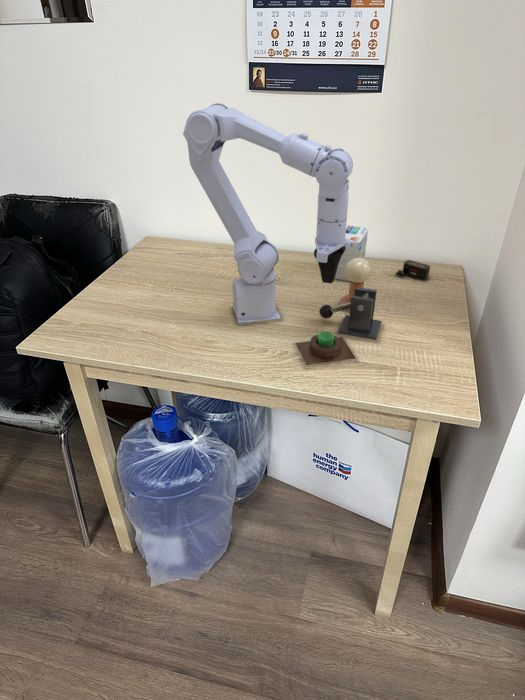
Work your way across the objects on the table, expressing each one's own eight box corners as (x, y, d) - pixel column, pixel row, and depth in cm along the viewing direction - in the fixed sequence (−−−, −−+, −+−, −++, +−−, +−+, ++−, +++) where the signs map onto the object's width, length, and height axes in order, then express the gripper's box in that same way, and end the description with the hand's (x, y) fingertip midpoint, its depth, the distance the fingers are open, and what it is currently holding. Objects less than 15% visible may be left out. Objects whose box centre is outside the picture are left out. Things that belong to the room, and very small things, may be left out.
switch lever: (321, 322, 112) (315, 310, 111) (324, 316, 114) (319, 304, 113) (370, 309, 106) (365, 296, 105) (373, 302, 108) (368, 290, 107)
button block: (306, 367, 100) (307, 356, 99) (295, 345, 106) (296, 334, 105) (355, 360, 102) (356, 349, 100) (341, 339, 108) (342, 328, 107)
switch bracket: (338, 335, 110) (341, 298, 105) (345, 319, 115) (348, 283, 110) (376, 341, 107) (381, 304, 102) (381, 325, 113) (386, 289, 108)
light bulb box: (340, 262, 140) (343, 224, 134) (364, 266, 138) (369, 227, 132) (329, 278, 132) (332, 238, 126) (355, 282, 130) (359, 242, 124)
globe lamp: (345, 315, 117) (350, 266, 110) (336, 302, 122) (340, 254, 115) (372, 312, 118) (378, 263, 111) (362, 299, 123) (367, 251, 116)
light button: (320, 348, 101) (320, 341, 100) (315, 340, 104) (315, 332, 103) (335, 346, 102) (336, 339, 101) (330, 338, 104) (331, 330, 103)
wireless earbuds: (403, 270, 136) (405, 258, 134) (428, 277, 132) (431, 265, 130) (395, 276, 133) (396, 264, 131) (421, 283, 129) (423, 272, 127)
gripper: (344, 232, 93) (339, 299, 101) (359, 207, 105) (354, 269, 112) (306, 228, 95) (304, 294, 103) (325, 204, 107) (322, 265, 114)
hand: (328, 281), depth 108 cm, fingers closed
